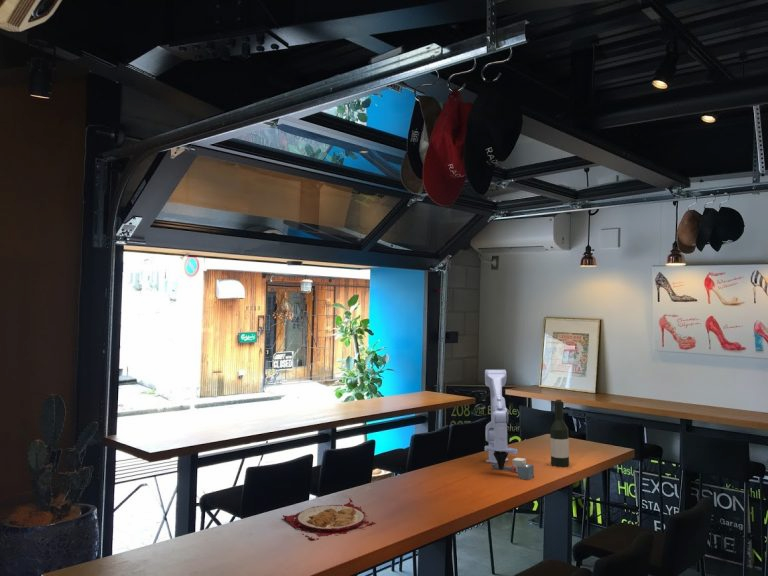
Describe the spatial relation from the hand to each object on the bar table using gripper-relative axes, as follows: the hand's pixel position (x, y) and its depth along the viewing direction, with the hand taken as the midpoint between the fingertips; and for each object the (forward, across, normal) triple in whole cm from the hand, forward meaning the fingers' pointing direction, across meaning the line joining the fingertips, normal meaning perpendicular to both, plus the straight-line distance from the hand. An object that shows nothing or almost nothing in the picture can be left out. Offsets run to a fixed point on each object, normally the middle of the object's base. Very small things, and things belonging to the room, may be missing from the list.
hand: (501, 468), depth 262 cm
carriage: (+2, +6, +8) cm, 10 cm away
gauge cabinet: (+2, +11, 0) cm, 11 cm away
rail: (+2, +2, +8) cm, 8 cm away
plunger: (+1, +7, 0) cm, 7 cm away
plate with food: (+3, -26, -87) cm, 91 cm away
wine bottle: (+2, +18, +28) cm, 34 cm away
